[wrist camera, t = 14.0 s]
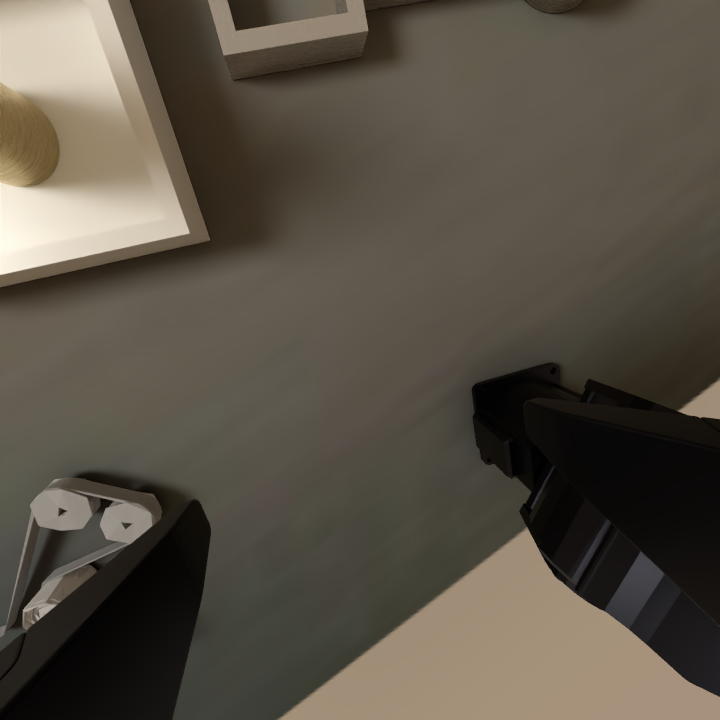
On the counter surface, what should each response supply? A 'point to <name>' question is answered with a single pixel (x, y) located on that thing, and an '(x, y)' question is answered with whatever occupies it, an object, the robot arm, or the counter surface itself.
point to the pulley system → (69, 512)
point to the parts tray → (91, 143)
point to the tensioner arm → (311, 36)
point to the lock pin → (25, 141)
